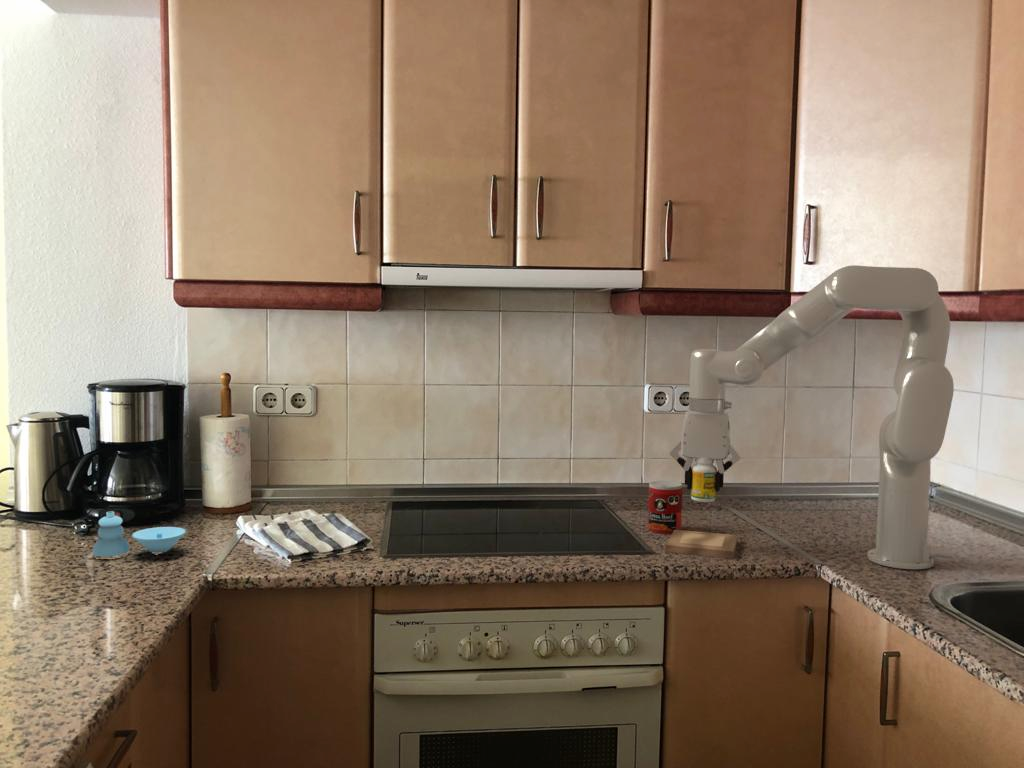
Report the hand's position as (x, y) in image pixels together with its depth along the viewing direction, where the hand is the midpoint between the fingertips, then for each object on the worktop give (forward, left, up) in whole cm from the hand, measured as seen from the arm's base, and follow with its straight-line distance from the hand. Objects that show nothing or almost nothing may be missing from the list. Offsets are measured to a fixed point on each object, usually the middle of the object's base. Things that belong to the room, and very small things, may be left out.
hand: (703, 488), depth 189 cm
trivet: (0, 0, -13) cm, 13 cm away
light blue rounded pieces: (+109, +47, -13) cm, 119 cm away
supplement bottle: (0, 0, -3) cm, 3 cm away
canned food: (+10, -12, -13) cm, 20 cm away
